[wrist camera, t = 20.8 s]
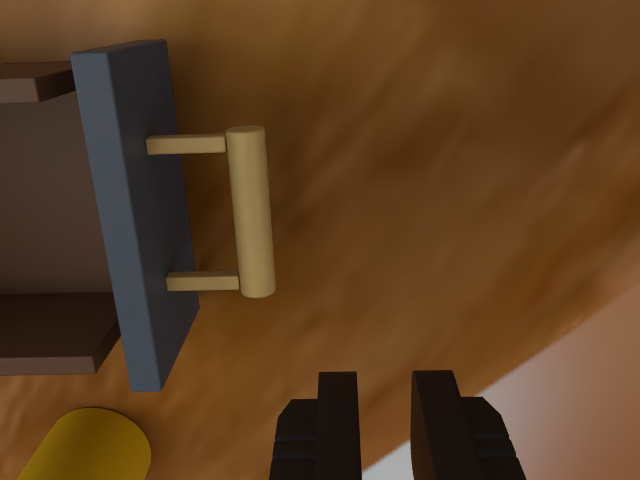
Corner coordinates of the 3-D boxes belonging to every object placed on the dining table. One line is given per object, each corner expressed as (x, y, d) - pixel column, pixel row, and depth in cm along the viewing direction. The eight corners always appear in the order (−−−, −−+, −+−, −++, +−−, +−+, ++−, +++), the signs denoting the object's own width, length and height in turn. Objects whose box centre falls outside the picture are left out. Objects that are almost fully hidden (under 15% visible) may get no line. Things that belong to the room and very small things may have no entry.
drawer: (271, 35, 24) (247, 46, 18) (288, 306, 29) (274, 390, 23) (-198, 53, 25) (-379, 69, 19) (-109, 313, 30) (-231, 397, 23)
